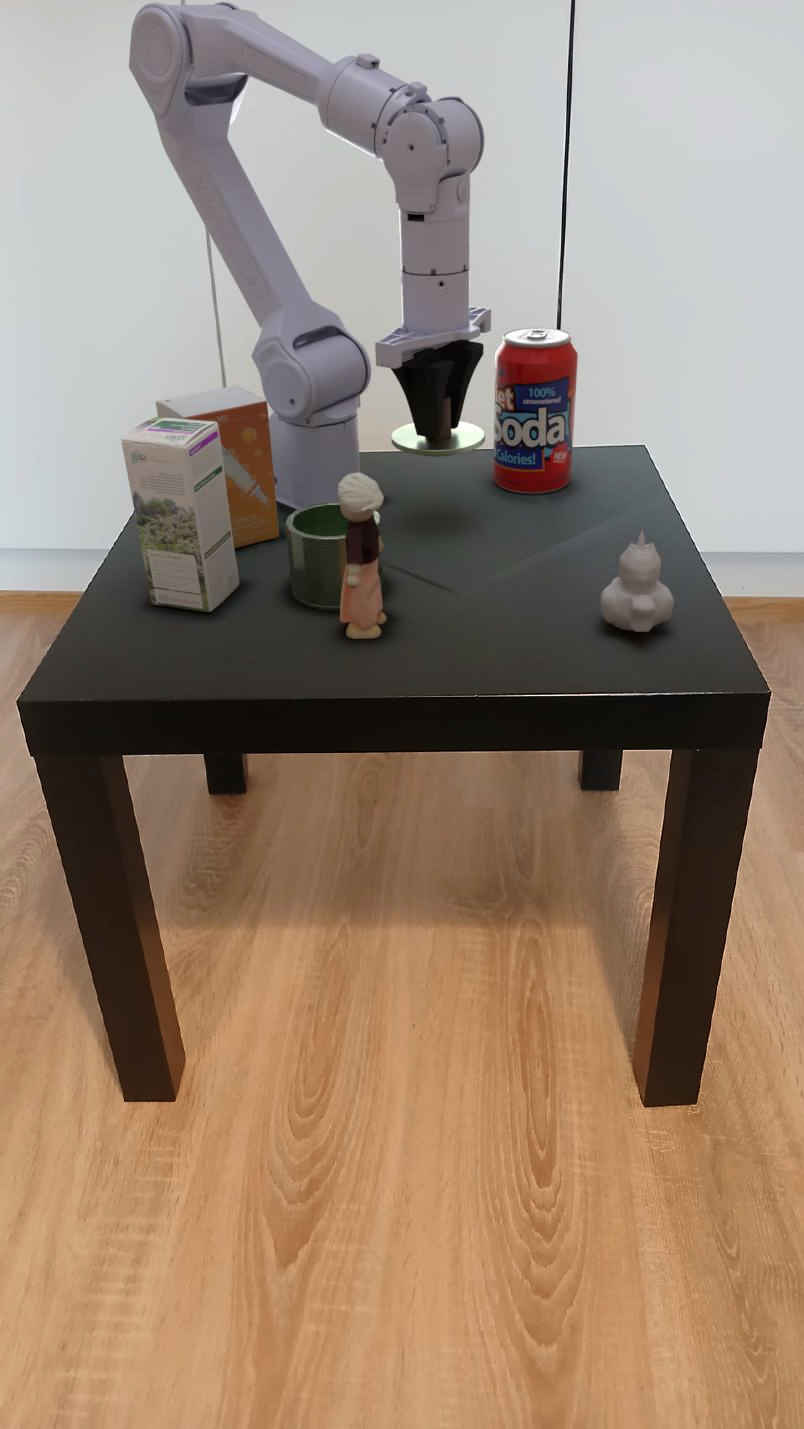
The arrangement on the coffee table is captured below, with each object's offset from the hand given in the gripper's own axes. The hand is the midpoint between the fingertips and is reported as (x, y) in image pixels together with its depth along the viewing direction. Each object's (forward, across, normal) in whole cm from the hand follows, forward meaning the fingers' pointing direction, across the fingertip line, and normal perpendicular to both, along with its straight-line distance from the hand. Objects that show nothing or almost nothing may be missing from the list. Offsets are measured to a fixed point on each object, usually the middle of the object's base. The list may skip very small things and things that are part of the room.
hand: (437, 431), depth 94 cm
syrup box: (+10, -22, +9) cm, 26 cm away
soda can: (+10, +14, -2) cm, 17 cm away
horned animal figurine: (+10, -8, -24) cm, 27 cm away
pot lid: (+1, 0, 0) cm, 1 cm away
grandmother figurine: (+10, -19, -6) cm, 22 cm away
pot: (+9, -15, 0) cm, 18 cm away
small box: (+10, -12, +16) cm, 22 cm away
